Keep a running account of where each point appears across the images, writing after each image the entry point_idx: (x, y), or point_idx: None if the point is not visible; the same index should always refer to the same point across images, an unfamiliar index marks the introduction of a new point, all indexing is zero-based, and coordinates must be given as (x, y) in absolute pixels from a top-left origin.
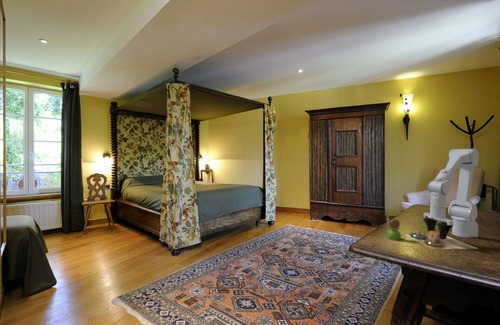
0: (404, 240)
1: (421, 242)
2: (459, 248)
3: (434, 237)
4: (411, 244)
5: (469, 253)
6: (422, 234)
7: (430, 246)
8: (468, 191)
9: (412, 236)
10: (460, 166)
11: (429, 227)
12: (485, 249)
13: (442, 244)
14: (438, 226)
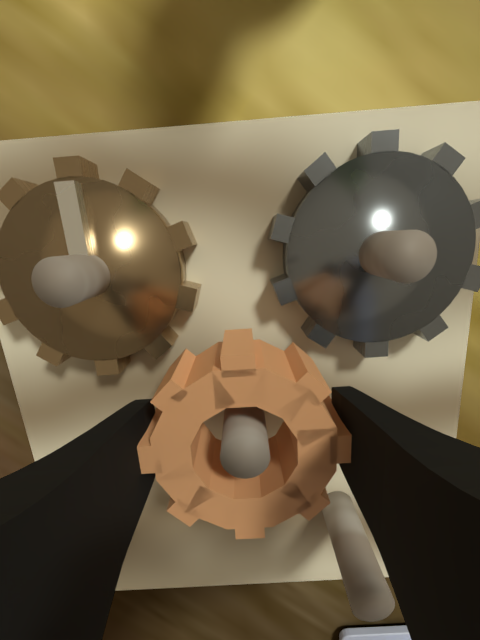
0: (334, 29)
1: (163, 152)
2: (37, 452)
3: (200, 358)
4: (183, 33)
5: None
6: (394, 322)
7: (27, 176)
8: None
9: (362, 147)
10: None
11: (378, 443)
12: (139, 635)
13: (11, 316)
14: (13, 512)
